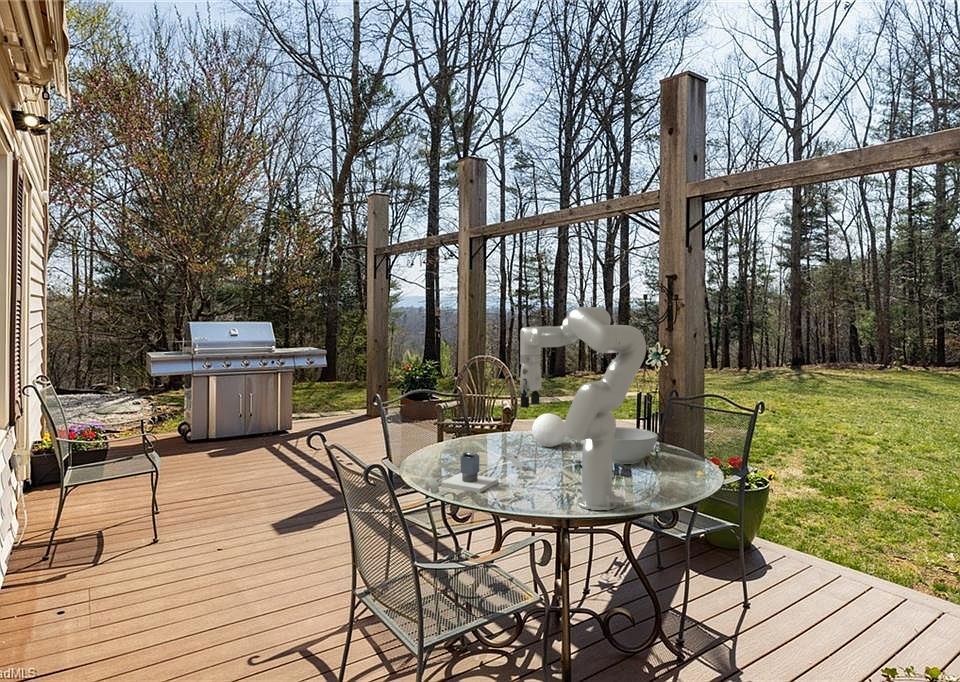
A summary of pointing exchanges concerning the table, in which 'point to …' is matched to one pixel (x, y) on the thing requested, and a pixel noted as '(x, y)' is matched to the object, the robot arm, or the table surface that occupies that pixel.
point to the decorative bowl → (632, 445)
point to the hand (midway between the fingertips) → (530, 405)
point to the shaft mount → (469, 482)
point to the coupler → (469, 463)
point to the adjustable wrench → (514, 461)
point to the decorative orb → (549, 430)
